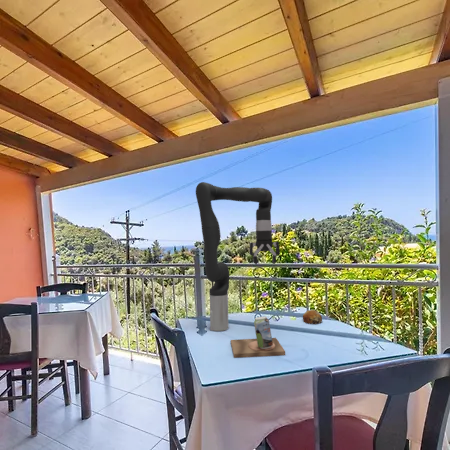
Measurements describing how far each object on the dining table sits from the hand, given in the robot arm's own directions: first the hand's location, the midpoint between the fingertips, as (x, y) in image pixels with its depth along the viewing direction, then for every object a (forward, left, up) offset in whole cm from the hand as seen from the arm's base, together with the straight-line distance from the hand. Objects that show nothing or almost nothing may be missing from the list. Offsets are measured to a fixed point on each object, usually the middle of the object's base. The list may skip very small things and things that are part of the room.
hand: (264, 264), depth 146 cm
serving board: (-8, -18, -33) cm, 38 cm away
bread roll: (+28, +16, -33) cm, 46 cm away
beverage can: (-6, -22, -31) cm, 39 cm away
